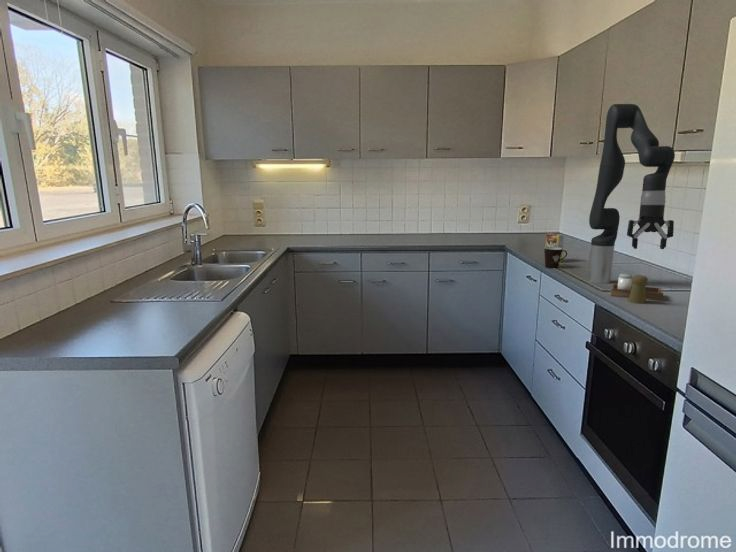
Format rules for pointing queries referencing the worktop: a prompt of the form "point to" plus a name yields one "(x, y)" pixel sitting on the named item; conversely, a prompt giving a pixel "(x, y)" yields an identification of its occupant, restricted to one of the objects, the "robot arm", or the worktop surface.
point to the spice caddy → (651, 292)
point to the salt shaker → (625, 281)
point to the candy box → (555, 241)
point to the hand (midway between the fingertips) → (648, 248)
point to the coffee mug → (553, 256)
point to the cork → (638, 290)
